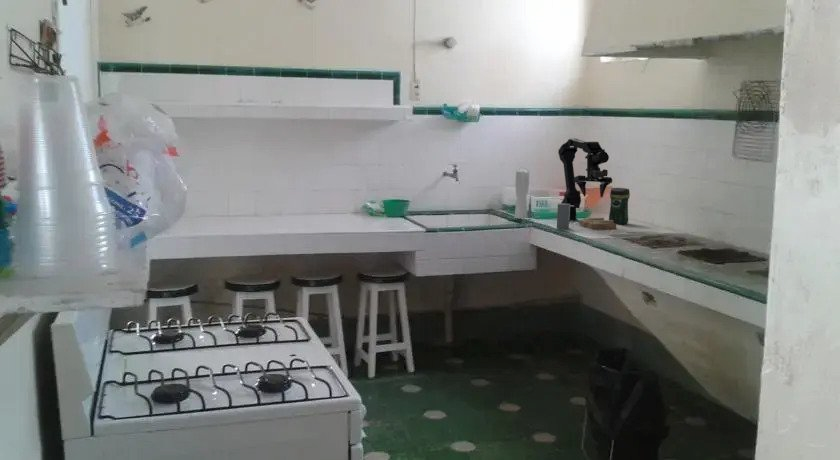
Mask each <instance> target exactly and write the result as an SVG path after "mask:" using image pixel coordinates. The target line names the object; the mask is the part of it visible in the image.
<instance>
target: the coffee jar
mask: <svg viewBox="0 0 840 460" xmlns="http://www.w3.org/2000/svg"><path fill="white" fill-rule="evenodd" d="M630 196H631V193H630V189H629V188H625V187H612V188H611V189H610V193H609V197H610V206H609V207H610V208H609V209H610V210H609V215H608V220H613V223H614V224H616V225H623V224H624V225H628V223H629V199H630Z"/></svg>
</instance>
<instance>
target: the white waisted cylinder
mask: <svg viewBox="0 0 840 460" xmlns="http://www.w3.org/2000/svg"><path fill="white" fill-rule="evenodd" d="M514 186H515V194H516V200H515V201H516V202H515V207H514V209H515V210H514V218H513V219H514V220H516V219H515V218H521V219H523V218H531V219H532V199H531V195H530V196H529V203H528V202H527V196H528V194H529V188H530V171H529V169H528V168H526V167H522V166H521V167H519V168H518V169H515V183H514Z"/></svg>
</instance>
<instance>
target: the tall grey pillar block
mask: <svg viewBox="0 0 840 460" xmlns="http://www.w3.org/2000/svg"><path fill="white" fill-rule="evenodd" d="M556 213H557V214H556V229H557V228H559V229H560V230H569V229H570V220H569V218H570V204H564V203H561V202H558V203H557V211H556Z"/></svg>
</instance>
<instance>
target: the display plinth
mask: <svg viewBox="0 0 840 460" xmlns="http://www.w3.org/2000/svg"><path fill="white" fill-rule="evenodd" d="M579 226H580V227H584V228H588V229H591V230H594V231H596V230H598V231H599V230H601V231H602V230H616V229H617V224H614V223H613V220H609V219H605V218H604V217H584V218H583V219H582V220H580V221H579Z"/></svg>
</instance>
